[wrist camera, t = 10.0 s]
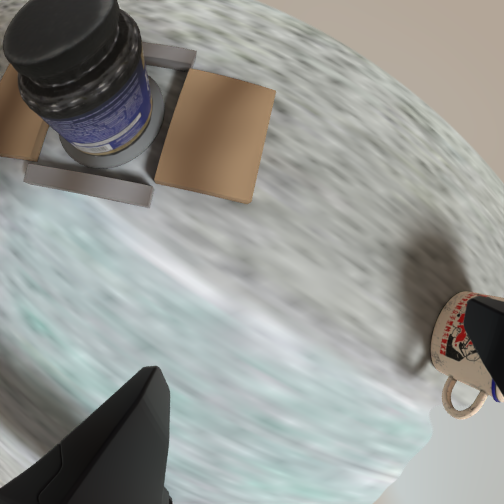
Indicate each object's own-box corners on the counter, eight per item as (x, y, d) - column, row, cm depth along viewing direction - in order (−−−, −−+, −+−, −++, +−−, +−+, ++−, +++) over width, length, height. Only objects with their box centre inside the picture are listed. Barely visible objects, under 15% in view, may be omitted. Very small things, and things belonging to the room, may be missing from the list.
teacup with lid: (456, 270, 24) (557, 283, 13) (487, 314, 26) (566, 333, 15) (395, 380, 23) (489, 436, 12) (435, 407, 25) (511, 451, 14)
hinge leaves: (275, 80, 20) (280, 73, 18) (241, 228, 20) (245, 227, 18) (27, 46, 15) (23, 39, 14) (-24, 174, 15) (-33, 171, 14)
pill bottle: (172, 107, 18) (172, -9, 7) (110, 177, 17) (35, 113, 7) (111, 64, 17) (77, -46, 6) (51, 128, 16) (-32, 51, 5)
